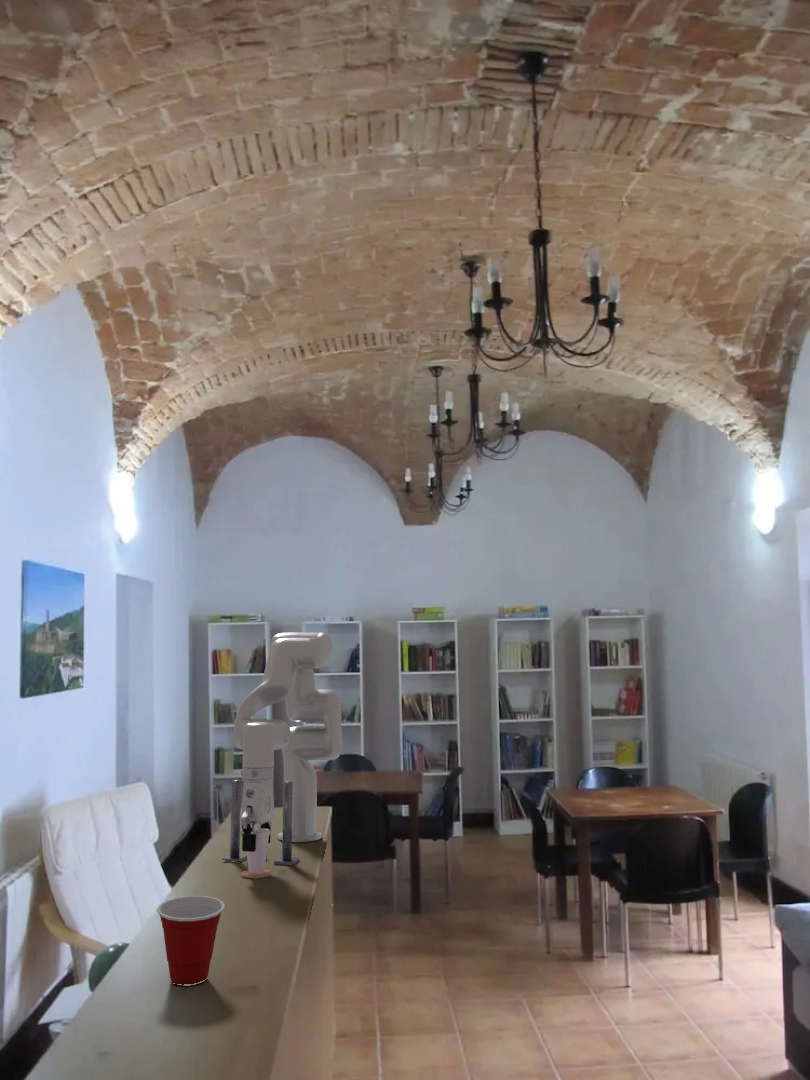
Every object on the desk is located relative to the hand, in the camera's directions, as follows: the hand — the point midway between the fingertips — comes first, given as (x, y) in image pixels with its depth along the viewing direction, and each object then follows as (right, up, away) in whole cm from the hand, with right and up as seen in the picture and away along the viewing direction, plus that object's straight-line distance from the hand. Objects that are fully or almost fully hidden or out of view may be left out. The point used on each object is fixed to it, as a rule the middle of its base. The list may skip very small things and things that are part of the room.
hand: (256, 847), depth 222 cm
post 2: (+6, -8, +12) cm, 16 cm away
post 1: (-8, -8, +15) cm, 19 cm away
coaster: (0, -6, -1) cm, 6 cm away
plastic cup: (+1, +2, -72) cm, 72 cm away
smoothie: (0, -6, 0) cm, 6 cm away
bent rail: (-1, -8, +10) cm, 12 cm away
